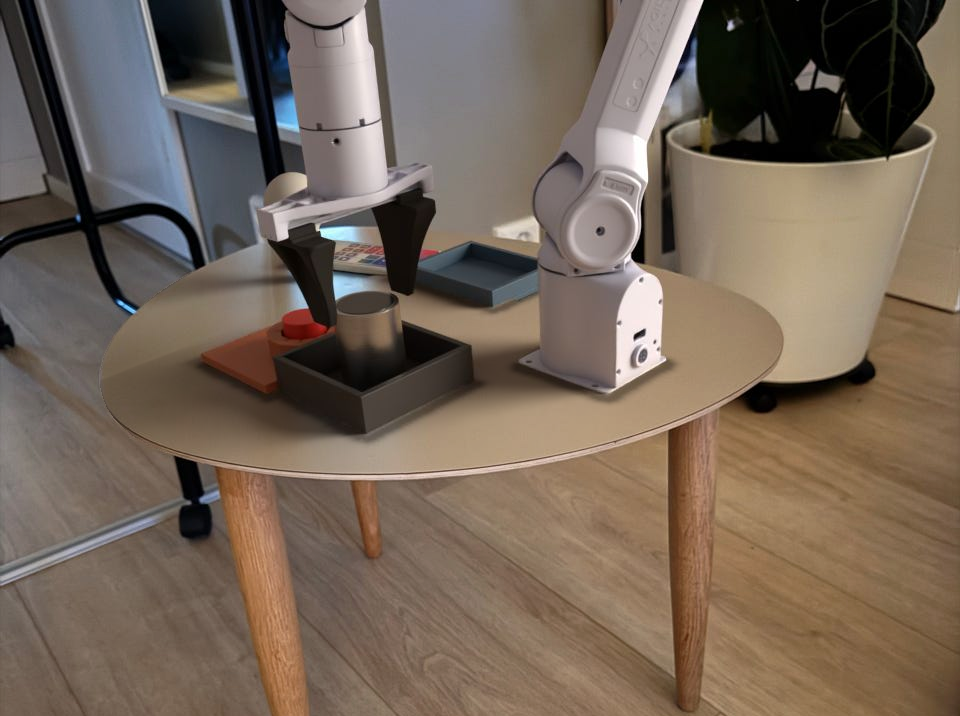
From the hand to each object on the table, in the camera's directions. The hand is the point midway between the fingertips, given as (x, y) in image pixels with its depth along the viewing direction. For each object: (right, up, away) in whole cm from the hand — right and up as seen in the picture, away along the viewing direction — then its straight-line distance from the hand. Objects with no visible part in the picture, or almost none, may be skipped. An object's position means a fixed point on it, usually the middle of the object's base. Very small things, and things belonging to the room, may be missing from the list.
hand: (365, 307), depth 72 cm
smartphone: (-3, +10, +30) cm, 32 cm away
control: (-9, -3, +10) cm, 13 cm away
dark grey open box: (+1, -6, +4) cm, 7 cm away
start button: (-6, -1, +8) cm, 10 cm away
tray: (+9, +7, +23) cm, 25 cm away
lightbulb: (-9, +8, +27) cm, 30 cm away
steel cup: (+1, -6, +4) cm, 7 cm away
